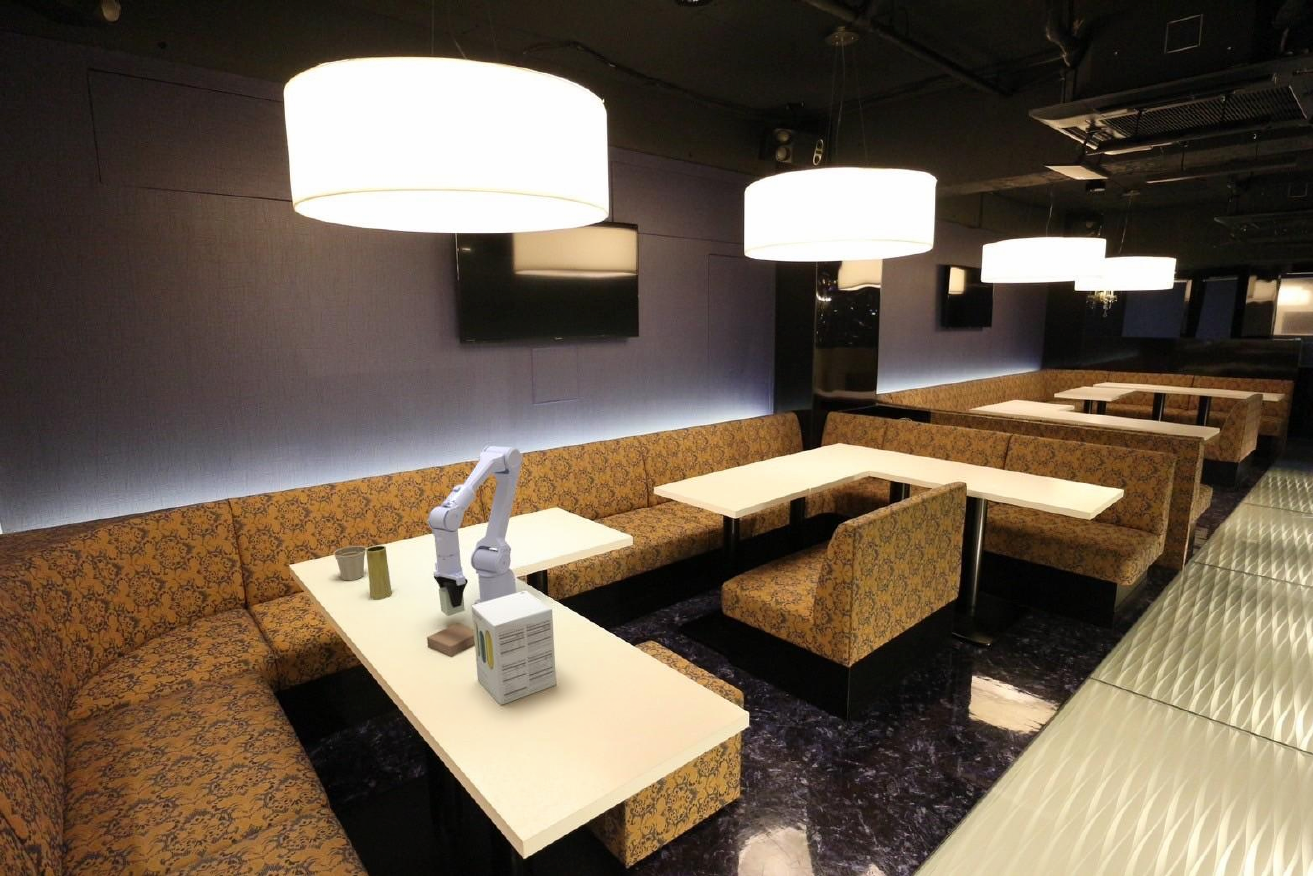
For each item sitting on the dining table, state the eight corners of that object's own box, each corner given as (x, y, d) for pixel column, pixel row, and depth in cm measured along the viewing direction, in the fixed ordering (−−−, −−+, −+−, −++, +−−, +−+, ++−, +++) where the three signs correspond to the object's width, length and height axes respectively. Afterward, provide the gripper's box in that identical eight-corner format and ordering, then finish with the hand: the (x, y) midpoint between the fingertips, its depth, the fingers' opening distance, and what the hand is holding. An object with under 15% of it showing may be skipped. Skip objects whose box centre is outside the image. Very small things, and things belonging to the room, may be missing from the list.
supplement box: (475, 679, 146) (469, 604, 143) (531, 660, 154) (526, 589, 151) (499, 706, 136) (493, 626, 133) (558, 685, 143) (553, 608, 140)
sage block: (457, 605, 175) (455, 583, 174) (464, 610, 172) (462, 588, 171) (441, 610, 172) (438, 588, 171) (447, 616, 169) (445, 594, 168)
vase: (384, 600, 190) (379, 552, 188) (365, 599, 192) (359, 551, 189) (396, 591, 196) (391, 545, 194) (377, 590, 197) (372, 544, 195)
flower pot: (375, 575, 210) (372, 548, 209) (348, 585, 202) (345, 558, 201) (357, 569, 215) (354, 544, 214) (330, 579, 207) (326, 553, 206)
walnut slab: (458, 634, 169) (457, 623, 168) (481, 643, 164) (481, 631, 163) (428, 648, 162) (426, 637, 161) (451, 658, 157) (450, 646, 156)
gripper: (422, 549, 172) (427, 599, 175) (443, 564, 161) (448, 617, 164) (448, 543, 177) (452, 591, 179) (471, 557, 166) (475, 608, 168)
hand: (452, 603), depth 172 cm, fingers closed on sage block, 4 cm apart
